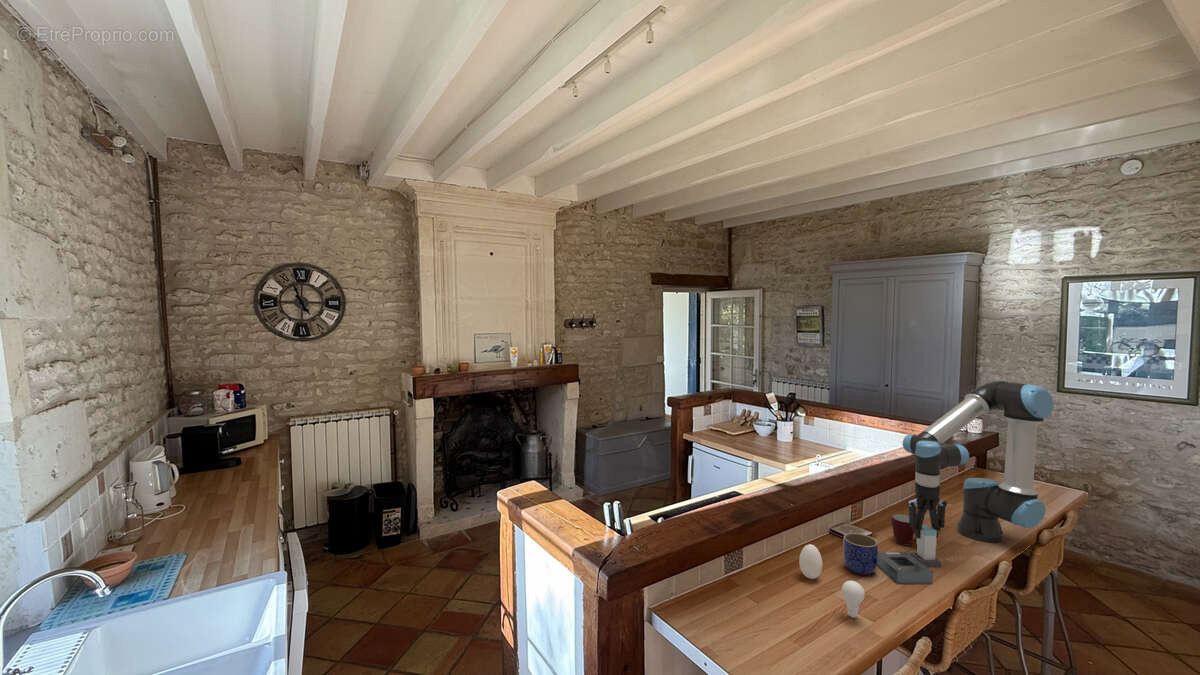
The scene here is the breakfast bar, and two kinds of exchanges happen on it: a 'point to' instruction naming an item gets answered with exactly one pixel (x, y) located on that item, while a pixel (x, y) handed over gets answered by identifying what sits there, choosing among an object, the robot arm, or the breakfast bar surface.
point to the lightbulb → (853, 596)
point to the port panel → (904, 568)
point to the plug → (928, 544)
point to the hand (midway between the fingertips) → (926, 546)
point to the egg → (810, 561)
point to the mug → (902, 529)
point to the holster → (927, 561)
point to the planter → (860, 553)
